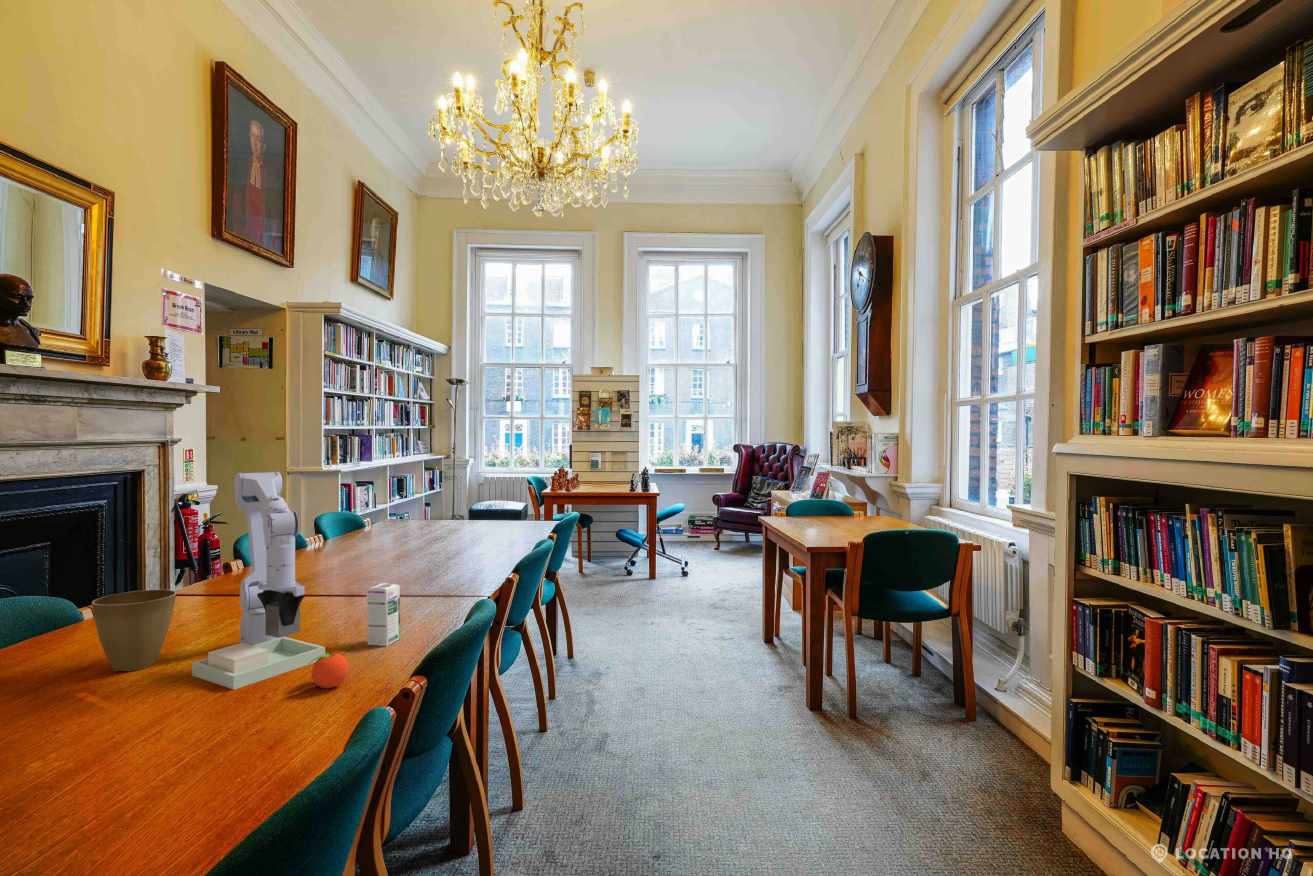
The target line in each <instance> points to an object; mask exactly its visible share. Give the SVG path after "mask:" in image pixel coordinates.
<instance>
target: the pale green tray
mask: <svg viewBox="0 0 1313 876" xmlns="http://www.w3.org/2000/svg"><path fill="white" fill-rule="evenodd" d="M253 646H256V647H260V648H263V649H267V650H268V664H267V665H263V666H260V667H257V668H254V669H251V670H248V671H245V672H241V673H238V674H233V673H230V672H227V671H224V670H221V669H218V668H214V667H211V666H208V657H207V658H205V659H201V660H198V661H194V662H191V676H192V677H195V678H199V679H201V680H204V681H207V682H210V683H213V684H215V685H219V686H221V687H225V688H228V689H230V690H233V691H234V690H237V689H239V688H240V689H241V688H244V687H246V686H249V685H252V684H254V683H258V682H261V681H263V680H264V681H265V680H267V679H270V678H273V677H276V676H279V675H282V674H285V673H288V672H290V671H294V670H296V669H300V668H302V667H303V668H304V667H305V666H306V667H307V666H309V665H311V664H315V662H316V661H317V660H318V659H319V658H318V659H316V660H314V661H312V660H313V659H315V658H316V657H318V656H321V655H325V654H326V647H325V646H323V645H318V644H314V643H310V642H305V641H302V640H298V639H294V638H291V637H287V636H285V637H281V638H278V639H274V640H271V641H267V642H264V643H260V644H256V645H253ZM311 661H312V662H311ZM310 662H311V663H310ZM309 663H310V664H309ZM308 664H309V665H308Z"/></svg>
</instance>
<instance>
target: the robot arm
mask: <svg viewBox="0 0 1313 876" xmlns="http://www.w3.org/2000/svg"><path fill="white" fill-rule="evenodd" d="M282 478H283V477H282V474H281V473H280V472H279V471H275V472H274V471H273V472H271V471H270V472H269V471H268V472H246V473H245V472H238V473H237V474H236V475H235V476H234V482H233V483H234V485H233V486H234V489H233V490H234V495H235V496H234V497H235V499H234V500H235V504H236V507H237V508H239V509H241V510H243V511H244V514H245V516H246V519H247V521H246V522H247V529H248V530H247V531H248V541H249V543H248V545H249V552H250V564H251V566H250V567H251V572H250V574H248V575H246V577H244V579H242V580H241V583H240V585H239V605H240V609H241V611H243V614H242V615H241V616H240V619H239V643H245V644H249V645H252V646H253V645H256V644H260V643H264V642H267V641H271V640H274V639H278V638H276V637H272V636H268V635H265V626H266V604H270V603H274V602H278V604H279V606H280V610H281V617H282V623H283V626H288V625H292V624H294V620H295V617H296V613H297V610H298V607H299V605H300V606H301V603H302V601H303V599H304V598H305V588H306V587H305V586H304V585H301V584H300V583H298V582H297V581H296V536H298V535H299V534H298V533H299V529H300V528H299V527H300V523H299V521H300V520H299V516H298V512H297V511H296V510H290V508H289V507H288V503H287V502H286V500H285V498H283V497H281V493H282V489H283V479H282Z"/></svg>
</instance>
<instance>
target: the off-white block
mask: <svg viewBox="0 0 1313 876" xmlns="http://www.w3.org/2000/svg"><path fill="white" fill-rule="evenodd" d="M207 658H208V666H211V667H214V668H218V669H221V670H224V671H227V672H230V673H233V674H238V673H241V672H245V671H248V670H251V669H254V668H257V667H260V666H263V665H267V664H268V650H267V649H263V648H260V647H256V646H252V645H249V644H245V643H240V642H239V643H236V644H233V645H229V646H225V647H221V648H218V649H215V650H211V651H208V653H207Z"/></svg>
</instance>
